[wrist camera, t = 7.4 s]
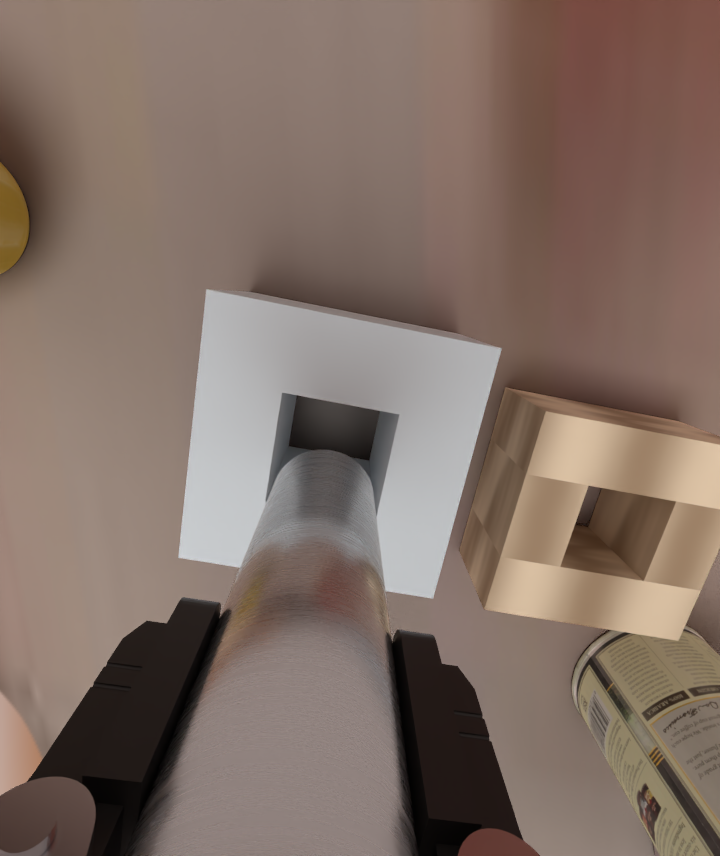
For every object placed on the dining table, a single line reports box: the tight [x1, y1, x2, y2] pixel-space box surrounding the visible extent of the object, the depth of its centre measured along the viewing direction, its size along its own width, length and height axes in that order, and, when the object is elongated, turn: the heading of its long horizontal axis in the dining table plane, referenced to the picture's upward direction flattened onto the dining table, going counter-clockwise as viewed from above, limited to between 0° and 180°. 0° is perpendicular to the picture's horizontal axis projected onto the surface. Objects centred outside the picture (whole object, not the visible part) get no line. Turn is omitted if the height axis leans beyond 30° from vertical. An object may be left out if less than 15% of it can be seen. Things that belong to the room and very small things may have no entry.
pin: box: [124, 450, 418, 856], centre depth 10 cm, size 4×4×14 cm
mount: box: [459, 387, 720, 641], centre depth 27 cm, size 11×11×6 cm
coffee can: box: [572, 625, 720, 856], centre depth 27 cm, size 10×10×14 cm
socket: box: [178, 289, 502, 599], centre depth 24 cm, size 12×12×8 cm
